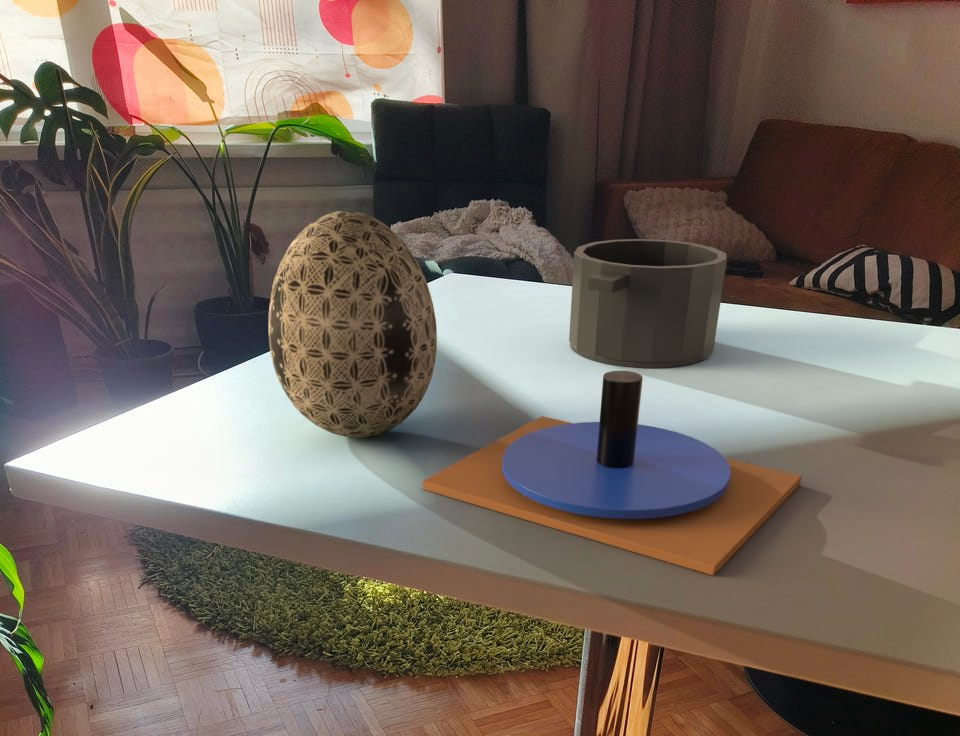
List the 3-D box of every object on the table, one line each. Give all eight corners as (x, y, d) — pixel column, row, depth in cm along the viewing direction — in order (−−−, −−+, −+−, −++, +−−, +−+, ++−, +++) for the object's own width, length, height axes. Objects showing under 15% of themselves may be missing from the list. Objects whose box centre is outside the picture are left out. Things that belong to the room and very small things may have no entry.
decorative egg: (254, 426, 67) (224, 208, 59) (387, 397, 73) (376, 194, 65) (327, 476, 60) (303, 233, 51) (470, 439, 65) (469, 215, 57)
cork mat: (800, 484, 59) (802, 475, 59) (713, 576, 49) (715, 566, 48) (541, 423, 68) (541, 415, 68) (422, 489, 58) (422, 480, 58)
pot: (743, 336, 89) (758, 245, 84) (663, 385, 76) (676, 280, 71) (621, 316, 96) (629, 230, 91) (528, 358, 82) (532, 260, 78)
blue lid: (760, 467, 60) (780, 367, 56) (670, 551, 50) (686, 436, 46) (571, 423, 67) (576, 331, 63) (457, 489, 56) (456, 385, 53)
